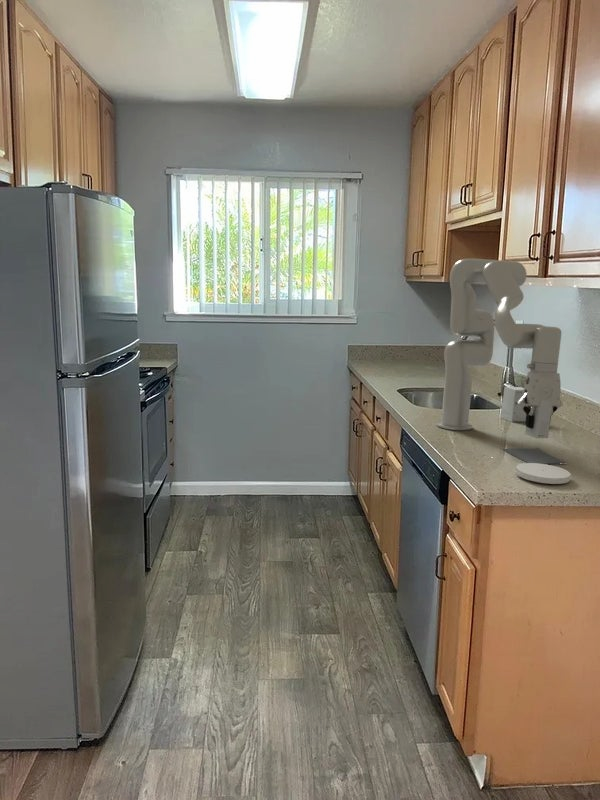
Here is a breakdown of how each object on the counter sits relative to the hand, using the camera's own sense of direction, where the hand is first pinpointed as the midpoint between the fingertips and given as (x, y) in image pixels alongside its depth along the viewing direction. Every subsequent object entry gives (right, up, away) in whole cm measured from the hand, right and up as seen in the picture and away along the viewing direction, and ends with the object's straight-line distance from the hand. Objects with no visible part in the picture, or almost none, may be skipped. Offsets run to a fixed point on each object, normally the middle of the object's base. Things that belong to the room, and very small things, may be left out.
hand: (537, 426), depth 194 cm
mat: (0, -9, +2) cm, 10 cm away
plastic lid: (-6, -14, -19) cm, 24 cm away
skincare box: (0, -3, +1) cm, 3 cm away
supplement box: (+11, 0, +55) cm, 57 cm away
